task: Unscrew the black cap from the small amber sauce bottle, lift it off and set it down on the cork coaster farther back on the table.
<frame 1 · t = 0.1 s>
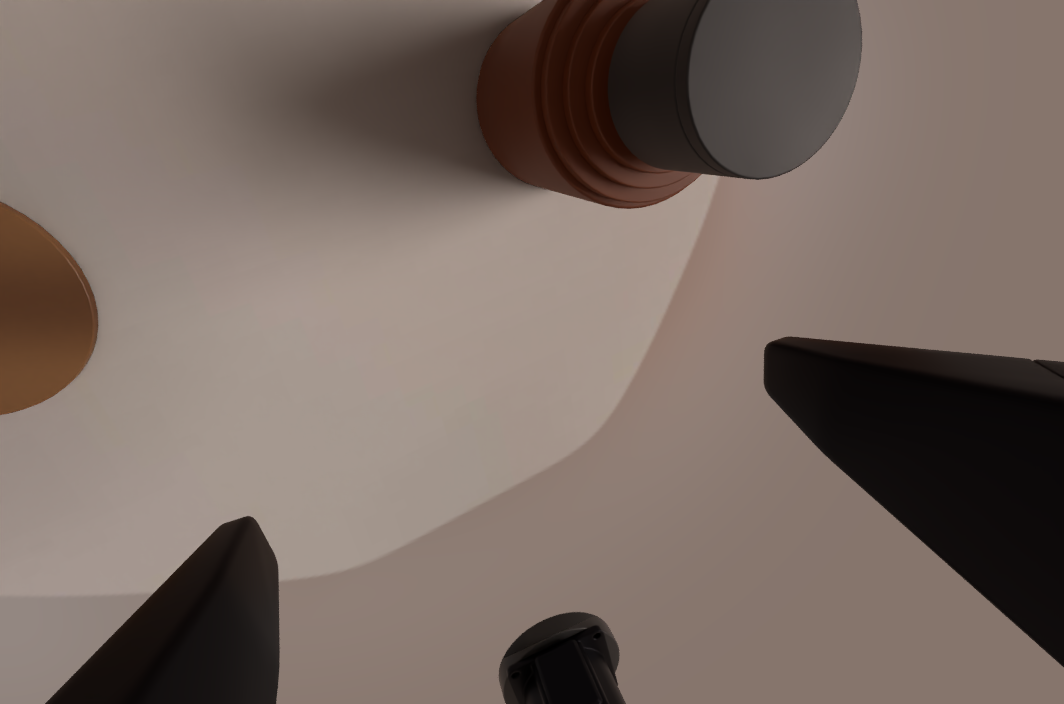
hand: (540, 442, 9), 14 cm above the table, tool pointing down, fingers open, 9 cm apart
cap: (763, 72, 10), point 12 cm above the table, screwed on, not yet turned
bottle: (555, 103, 21), on the table
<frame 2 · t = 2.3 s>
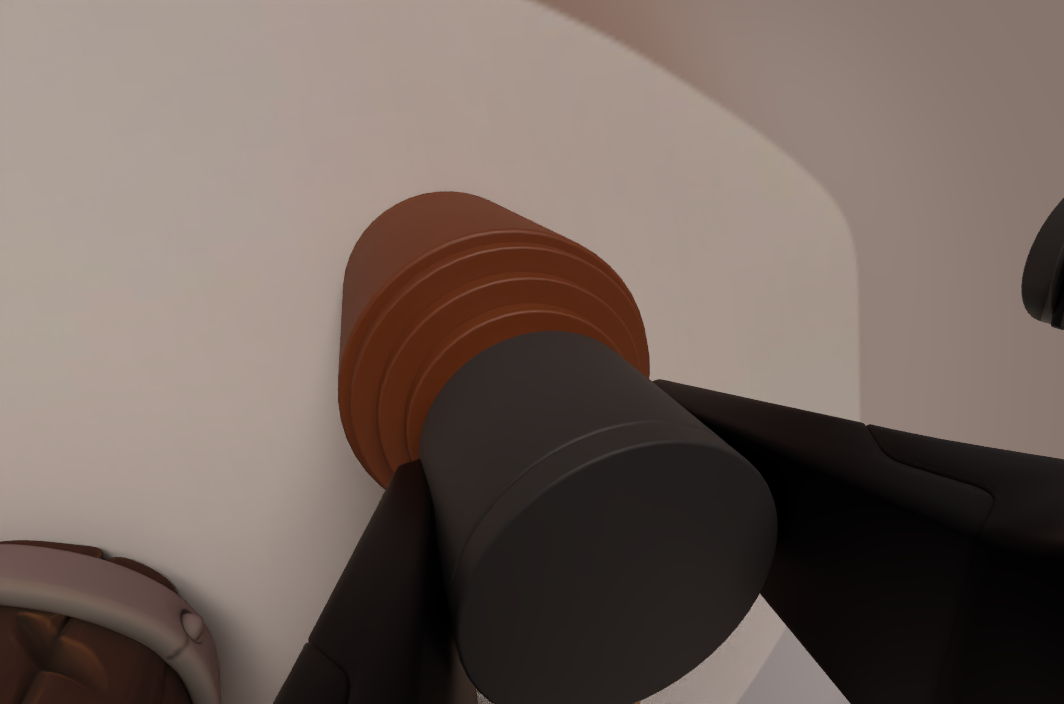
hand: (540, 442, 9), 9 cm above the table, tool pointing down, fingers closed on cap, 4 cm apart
flowerpot: (31, 651, 17), on the table
cap: (615, 568, 6), point 12 cm above the table, screwed on, not yet turned, touching gripper
bottle: (449, 295, 17), on the table
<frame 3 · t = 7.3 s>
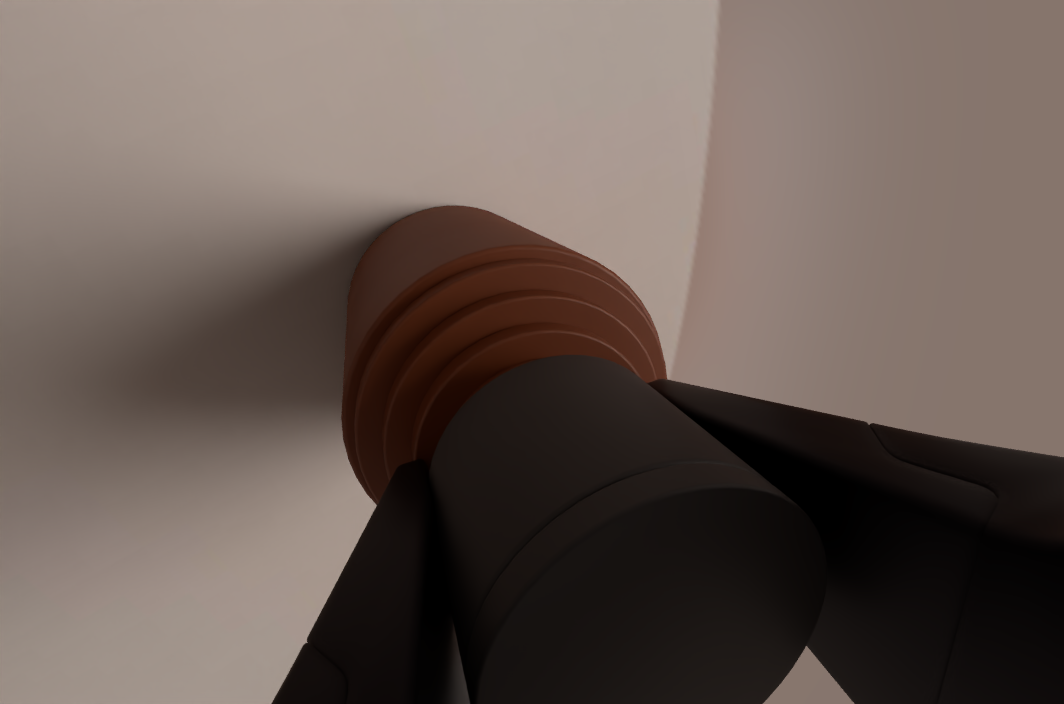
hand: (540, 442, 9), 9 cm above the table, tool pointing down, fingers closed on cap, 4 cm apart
cap: (647, 622, 6), point 12 cm above the table, turned 77° so far, risen 0.1 cm, still on its thread, touching gripper
bottle: (456, 311, 16), on the table
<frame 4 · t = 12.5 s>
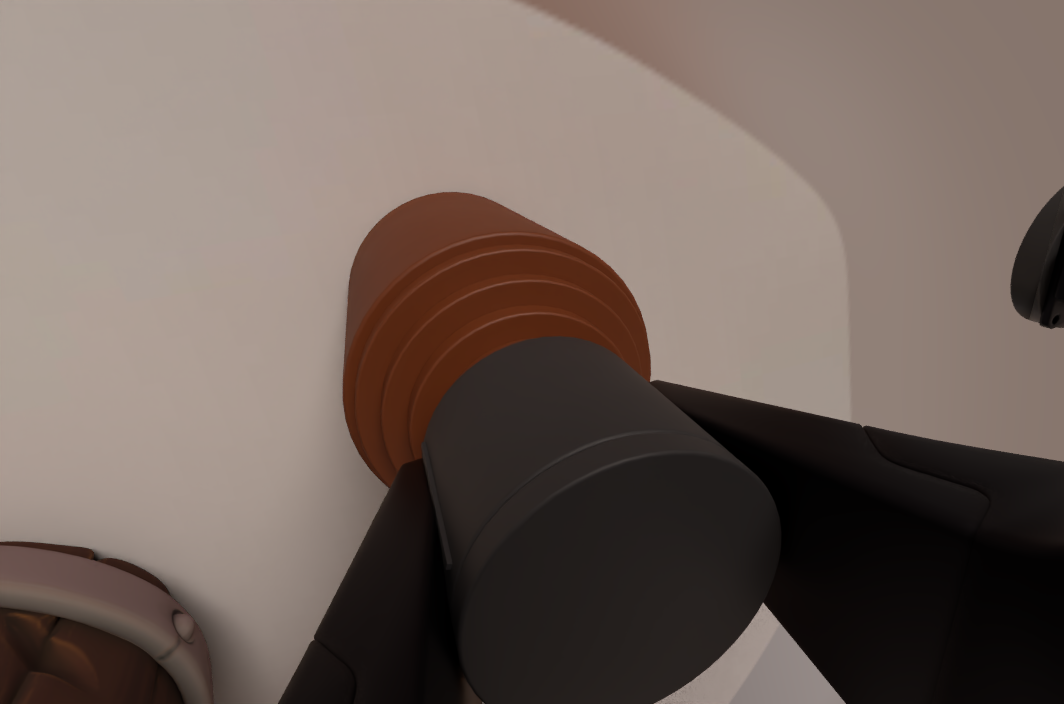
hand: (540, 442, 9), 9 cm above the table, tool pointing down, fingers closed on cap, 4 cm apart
flowerpot: (22, 653, 17), on the table
cap: (618, 577, 6), point 12 cm above the table, turned 154° so far, risen 0.1 cm, still on its thread, touching gripper
bottle: (454, 295, 17), on the table
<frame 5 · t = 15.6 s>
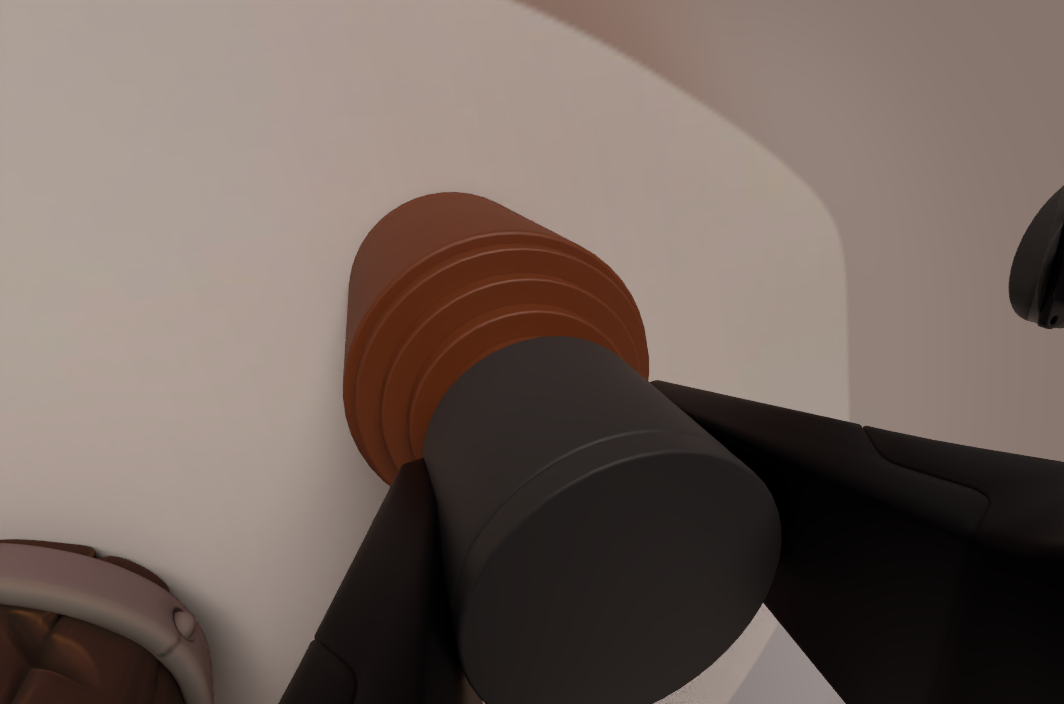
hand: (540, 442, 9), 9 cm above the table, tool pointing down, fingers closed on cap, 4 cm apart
flowerpot: (23, 650, 17), on the table
cap: (618, 576, 6), point 12 cm above the table, turned 232° so far, risen 0.2 cm, still on its thread, touching gripper
bottle: (453, 294, 17), on the table
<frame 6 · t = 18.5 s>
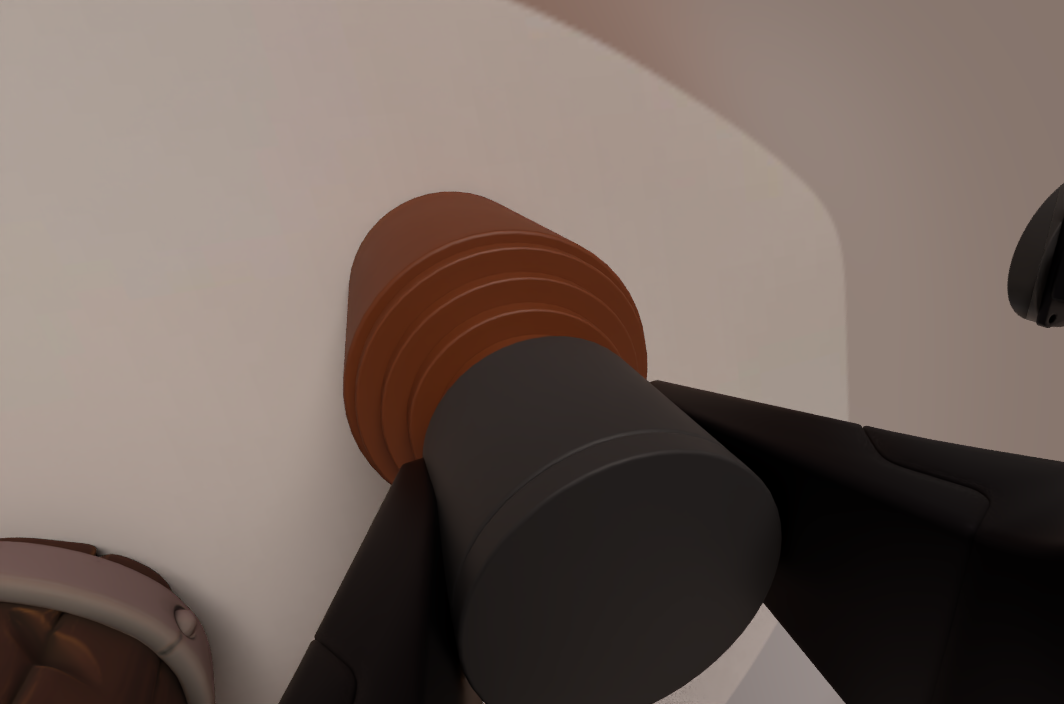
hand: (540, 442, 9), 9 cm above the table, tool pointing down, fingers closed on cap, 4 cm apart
flowerpot: (25, 648, 17), on the table
cap: (618, 576, 6), point 12 cm above the table, turned 309° so far, risen 0.3 cm, still on its thread, touching gripper
bottle: (453, 293, 17), on the table
when the fingers open (2 cm above the table, at t = 29.0 s): cap drops 2 cm, resting on coaster.
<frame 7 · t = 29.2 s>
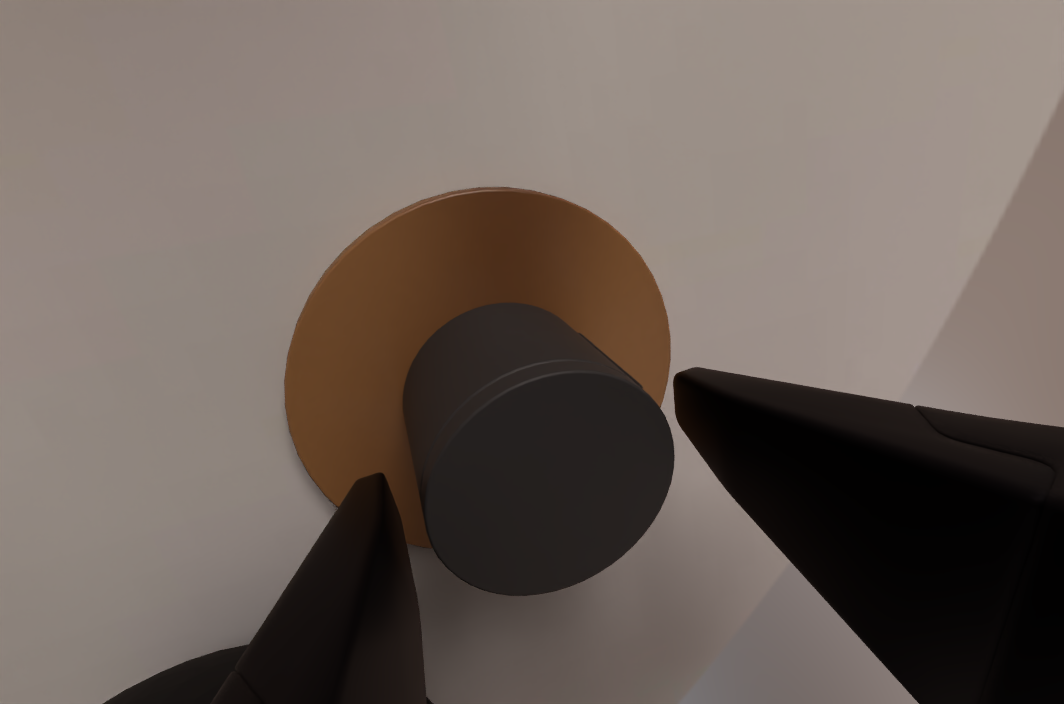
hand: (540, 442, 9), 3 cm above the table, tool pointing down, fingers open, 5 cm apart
coaster: (494, 384, 11), on the table
cap: (549, 477, 8), point 3 cm above the table, off its thread, touching coaster
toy: (258, 691, 12), on the table, touching gripper
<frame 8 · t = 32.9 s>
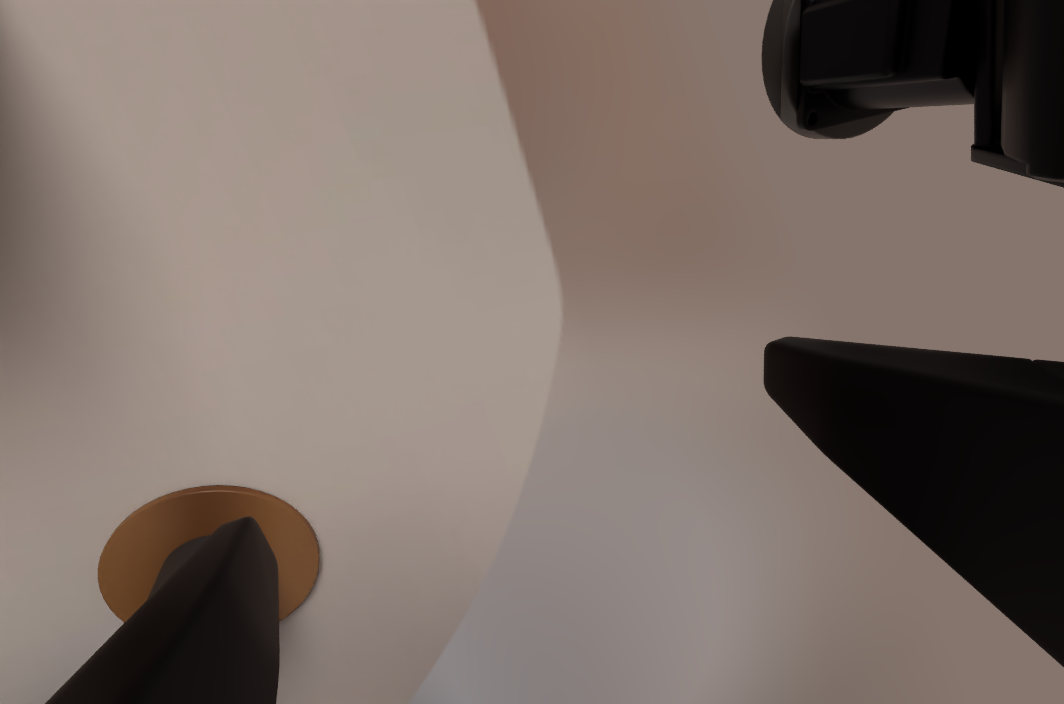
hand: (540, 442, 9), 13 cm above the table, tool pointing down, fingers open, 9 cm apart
coaster: (217, 564, 22), on the table
cap: (198, 632, 19), point 3 cm above the table, off its thread, touching coaster
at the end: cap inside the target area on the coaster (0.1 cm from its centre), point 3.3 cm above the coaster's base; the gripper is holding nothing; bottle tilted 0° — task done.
